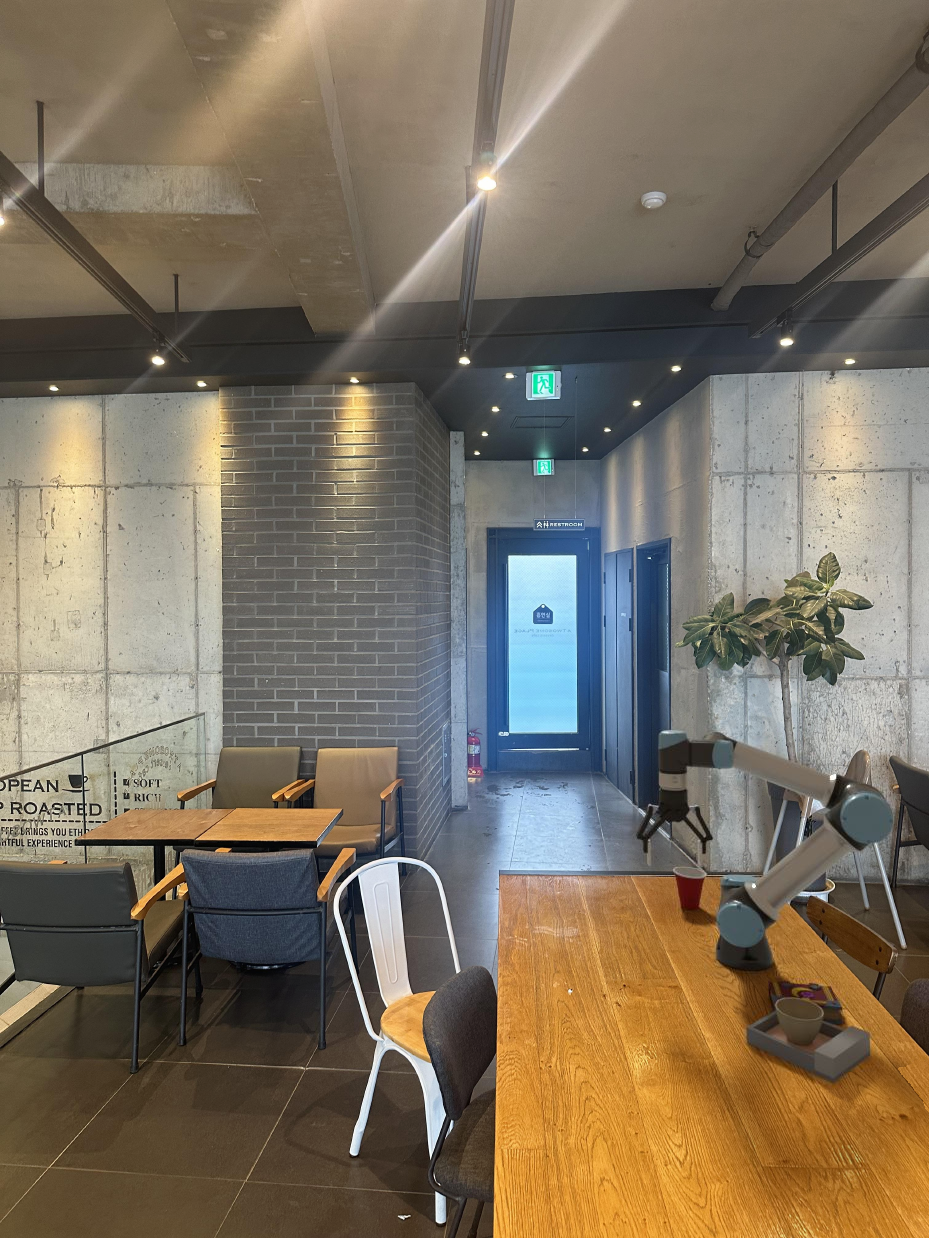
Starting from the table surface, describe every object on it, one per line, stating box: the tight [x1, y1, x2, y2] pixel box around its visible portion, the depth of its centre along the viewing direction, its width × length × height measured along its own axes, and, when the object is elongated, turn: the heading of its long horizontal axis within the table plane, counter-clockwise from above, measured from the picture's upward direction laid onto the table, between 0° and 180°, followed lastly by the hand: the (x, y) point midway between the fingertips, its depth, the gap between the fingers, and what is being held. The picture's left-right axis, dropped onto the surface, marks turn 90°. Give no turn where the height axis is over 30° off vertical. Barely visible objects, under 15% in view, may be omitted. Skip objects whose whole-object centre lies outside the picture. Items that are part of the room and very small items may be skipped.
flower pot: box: [775, 998, 824, 1046], centre depth 177 cm, size 10×10×7 cm
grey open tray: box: [746, 1010, 871, 1084], centre depth 175 cm, size 16×20×5 cm
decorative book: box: [767, 980, 845, 1026], centre depth 192 cm, size 11×16×5 cm
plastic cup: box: [672, 866, 708, 911], centre depth 261 cm, size 11×11×12 cm
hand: (674, 865), depth 215 cm, fingers open, 13 cm apart
